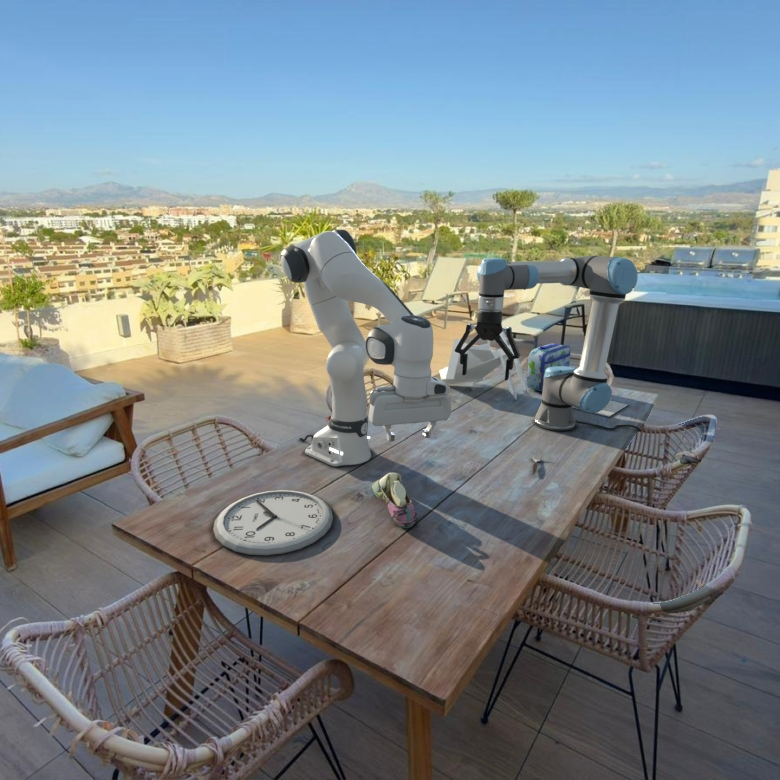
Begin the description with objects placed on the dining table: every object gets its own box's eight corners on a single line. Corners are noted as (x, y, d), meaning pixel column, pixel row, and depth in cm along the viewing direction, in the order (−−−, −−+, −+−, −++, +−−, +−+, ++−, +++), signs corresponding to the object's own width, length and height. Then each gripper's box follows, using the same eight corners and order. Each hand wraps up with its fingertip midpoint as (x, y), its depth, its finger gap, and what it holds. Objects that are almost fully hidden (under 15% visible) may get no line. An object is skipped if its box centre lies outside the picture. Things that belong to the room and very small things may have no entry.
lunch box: (542, 395, 240) (547, 351, 233) (522, 390, 247) (526, 347, 241) (569, 384, 257) (575, 343, 251) (550, 380, 264) (554, 339, 258)
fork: (528, 475, 162) (529, 469, 161) (533, 455, 176) (534, 449, 176) (537, 476, 161) (537, 470, 160) (541, 456, 175) (542, 451, 175)
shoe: (395, 484, 155) (395, 458, 152) (425, 527, 133) (426, 497, 130) (368, 488, 152) (368, 461, 150) (393, 533, 130) (394, 502, 128)
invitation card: (608, 416, 214) (573, 407, 224) (608, 416, 214) (573, 408, 224) (628, 404, 229) (594, 396, 238) (628, 405, 229) (594, 397, 238)
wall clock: (331, 546, 121) (198, 551, 119) (331, 552, 122) (199, 557, 119) (333, 485, 150) (227, 488, 147) (334, 490, 150) (227, 493, 148)
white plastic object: (461, 429, 252) (437, 405, 227) (444, 352, 274) (420, 323, 250) (535, 404, 240) (518, 377, 215) (510, 326, 262) (492, 293, 237)
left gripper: (374, 391, 118) (372, 447, 122) (456, 386, 124) (451, 439, 129) (366, 383, 123) (364, 437, 128) (444, 378, 130) (440, 430, 134)
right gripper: (447, 308, 161) (444, 375, 168) (530, 315, 152) (523, 384, 159) (453, 305, 168) (450, 369, 174) (533, 311, 159) (526, 378, 165)
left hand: (408, 438), depth 128 cm, fingers open, 8 cm apart
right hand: (485, 376), depth 167 cm, fingers open, 13 cm apart
